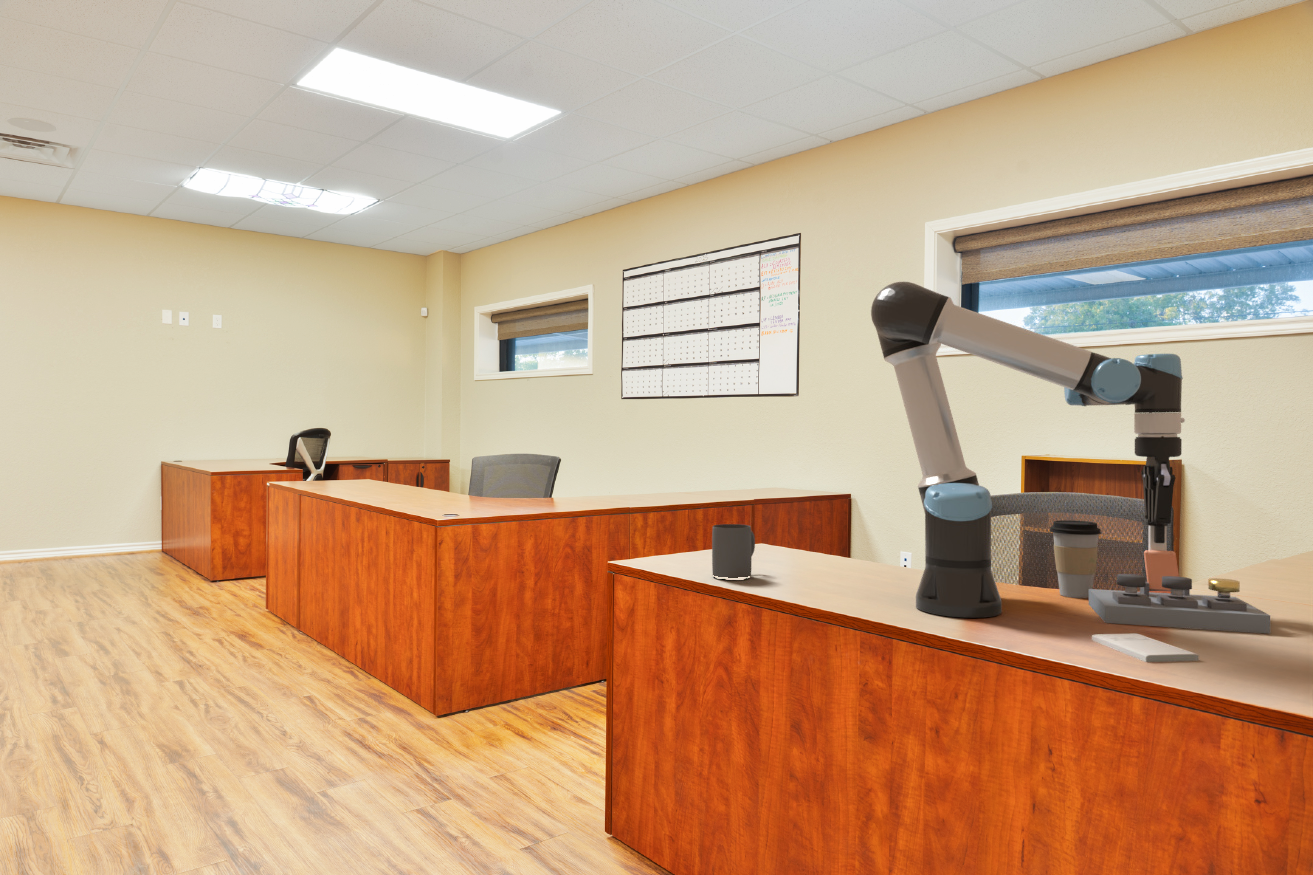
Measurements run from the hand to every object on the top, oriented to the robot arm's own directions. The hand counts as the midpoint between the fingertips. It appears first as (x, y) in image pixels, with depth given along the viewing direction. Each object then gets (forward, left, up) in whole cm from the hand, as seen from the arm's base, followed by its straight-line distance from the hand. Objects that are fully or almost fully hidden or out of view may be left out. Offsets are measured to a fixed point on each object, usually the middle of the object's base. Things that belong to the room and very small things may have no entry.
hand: (1157, 559), depth 150 cm
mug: (-84, +8, -9) cm, 85 cm away
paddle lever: (0, -4, -5) cm, 7 cm away
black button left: (-7, -12, -4) cm, 15 cm away
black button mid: (0, -12, -4) cm, 13 cm away
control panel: (0, -9, -9) cm, 13 cm away
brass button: (+7, -12, -4) cm, 15 cm away
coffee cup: (-13, +8, -9) cm, 18 cm away
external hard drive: (-10, -35, -10) cm, 38 cm away
